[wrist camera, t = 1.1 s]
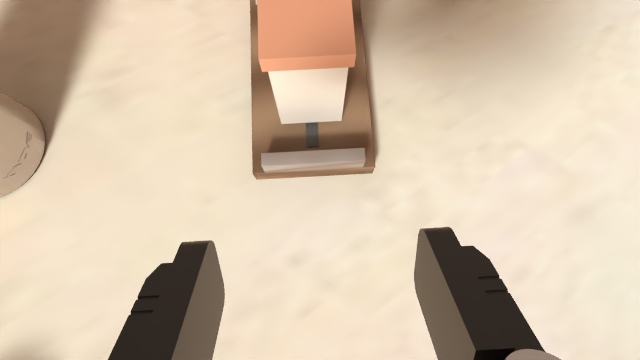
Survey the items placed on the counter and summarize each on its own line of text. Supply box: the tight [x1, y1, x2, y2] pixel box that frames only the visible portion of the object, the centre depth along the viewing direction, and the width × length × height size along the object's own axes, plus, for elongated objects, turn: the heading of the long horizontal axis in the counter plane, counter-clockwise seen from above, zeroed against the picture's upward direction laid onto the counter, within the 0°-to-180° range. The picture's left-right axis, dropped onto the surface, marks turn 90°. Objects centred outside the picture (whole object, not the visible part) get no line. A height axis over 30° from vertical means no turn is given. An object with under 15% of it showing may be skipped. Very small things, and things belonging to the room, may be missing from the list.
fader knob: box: [257, 0, 356, 124], centre depth 28 cm, size 5×6×10 cm
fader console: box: [250, 0, 375, 179], centre depth 35 cm, size 28×10×4 cm, turn 3°
